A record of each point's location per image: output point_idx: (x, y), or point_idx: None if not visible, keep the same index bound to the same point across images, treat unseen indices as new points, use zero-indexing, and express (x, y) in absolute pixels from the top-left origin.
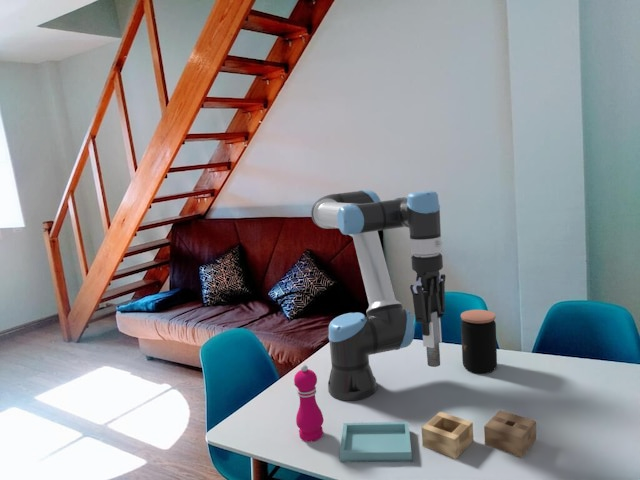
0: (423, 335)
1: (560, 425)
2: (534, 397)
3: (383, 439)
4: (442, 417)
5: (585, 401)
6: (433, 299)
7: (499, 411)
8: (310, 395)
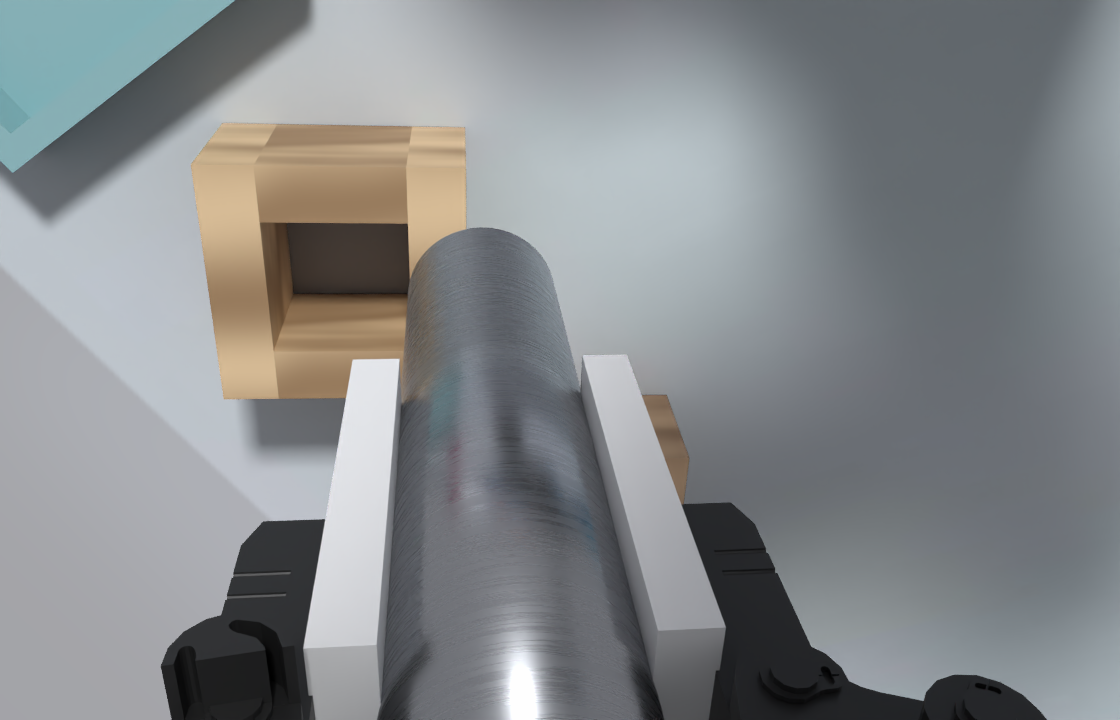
0: (338, 471)
1: (821, 586)
2: (1068, 416)
3: None
4: (403, 220)
5: (1093, 601)
6: None
7: (670, 463)
8: None
